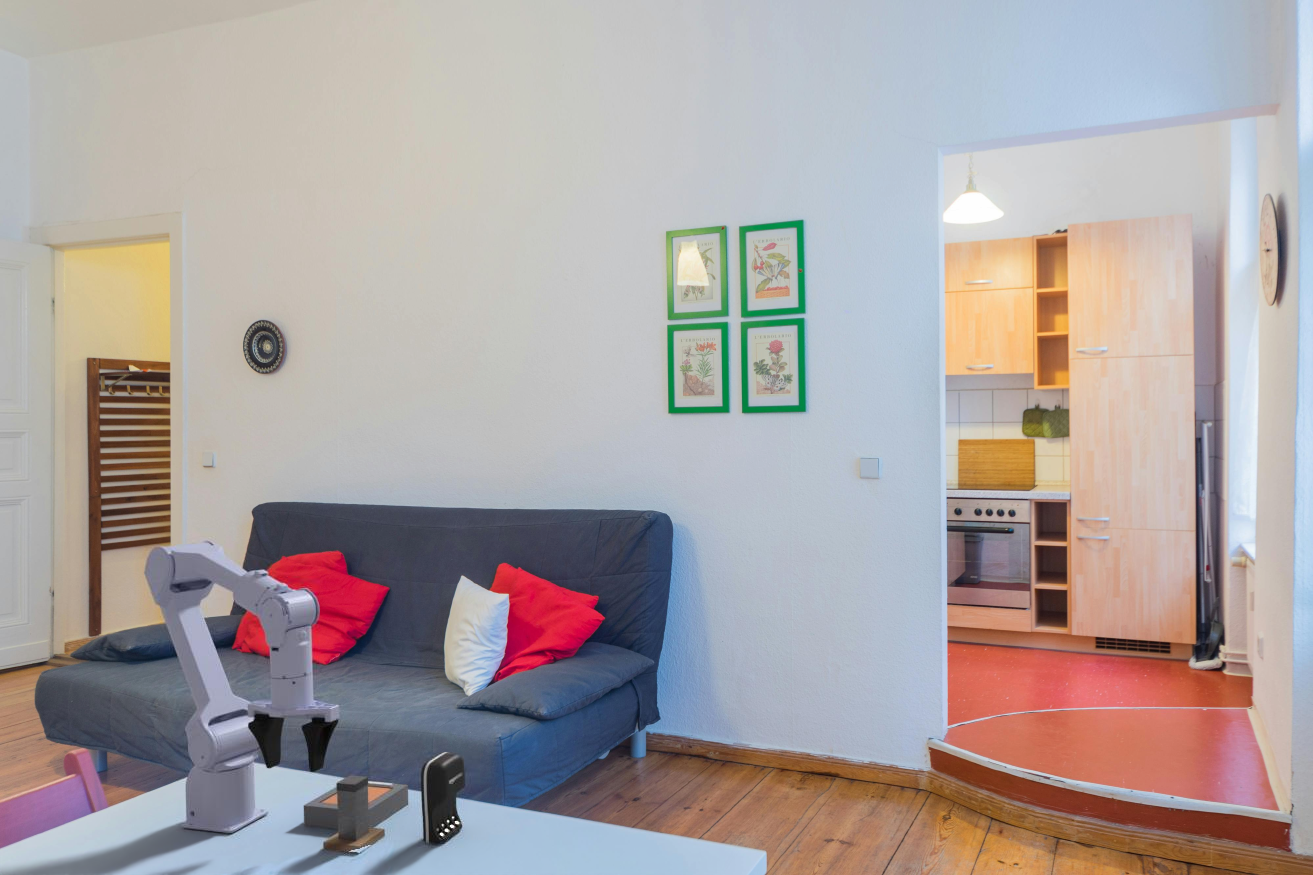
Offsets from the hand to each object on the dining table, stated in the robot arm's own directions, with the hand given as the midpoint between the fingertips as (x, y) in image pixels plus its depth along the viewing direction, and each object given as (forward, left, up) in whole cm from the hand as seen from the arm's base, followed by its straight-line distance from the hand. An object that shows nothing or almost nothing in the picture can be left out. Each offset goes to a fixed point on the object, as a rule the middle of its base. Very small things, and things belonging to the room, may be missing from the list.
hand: (294, 767), depth 133 cm
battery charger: (+21, +6, -11) cm, 24 cm away
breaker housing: (+3, +10, -10) cm, 15 cm away
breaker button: (+3, +10, -10) cm, 14 cm away
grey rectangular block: (+9, +1, -9) cm, 13 cm away
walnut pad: (+9, +1, -10) cm, 14 cm away
